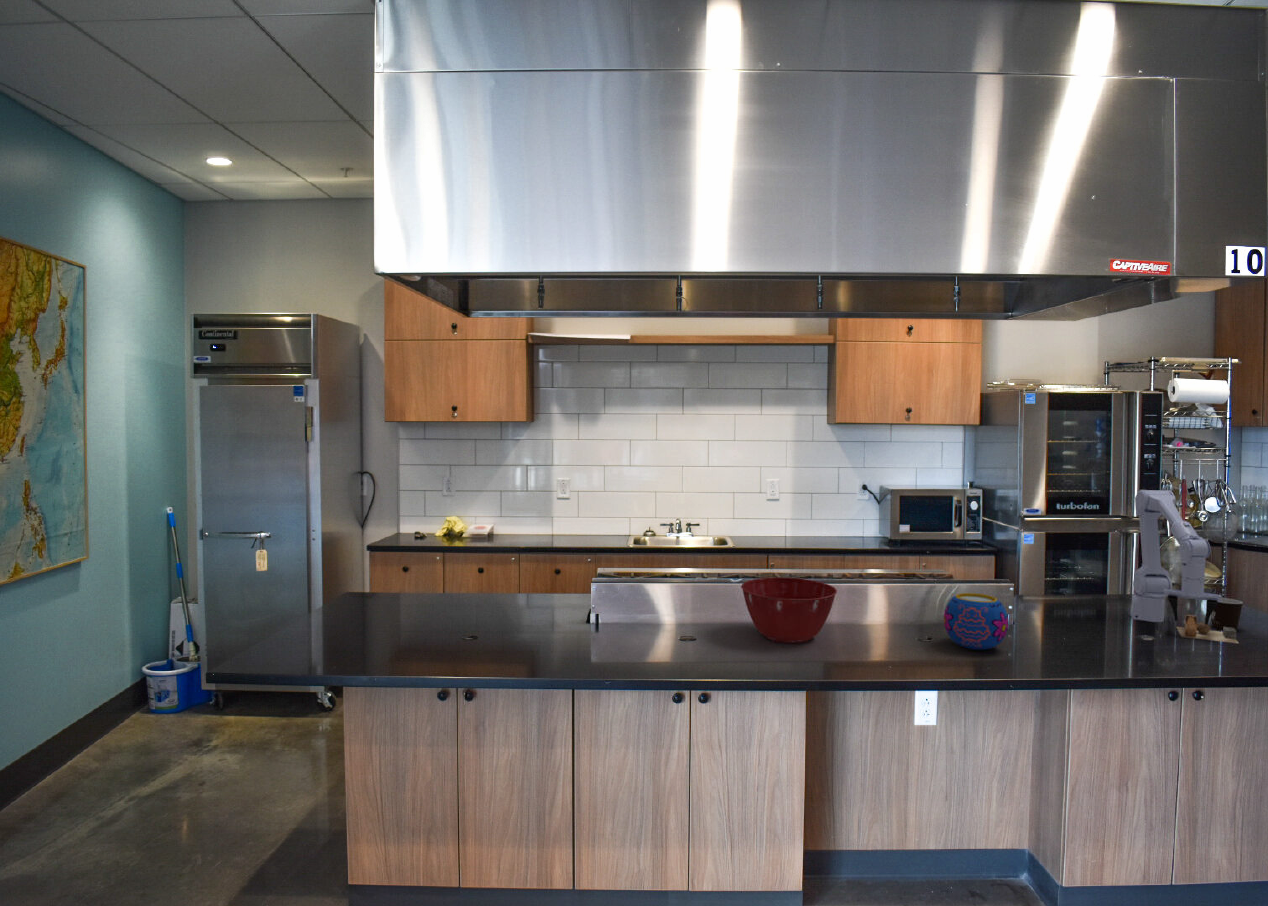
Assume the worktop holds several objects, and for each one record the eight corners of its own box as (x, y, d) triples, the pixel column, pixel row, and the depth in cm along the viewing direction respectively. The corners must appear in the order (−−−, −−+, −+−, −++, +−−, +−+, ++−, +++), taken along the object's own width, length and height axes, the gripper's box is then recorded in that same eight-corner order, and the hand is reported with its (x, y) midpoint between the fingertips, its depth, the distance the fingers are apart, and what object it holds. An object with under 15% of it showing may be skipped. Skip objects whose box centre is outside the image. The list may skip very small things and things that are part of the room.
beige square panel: (1180, 639, 251) (1181, 628, 251) (1176, 629, 264) (1176, 619, 263) (1238, 646, 245) (1239, 635, 244) (1231, 635, 257) (1231, 625, 256)
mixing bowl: (837, 654, 232) (839, 600, 231) (736, 647, 238) (737, 594, 237) (833, 628, 260) (835, 580, 259) (743, 622, 265) (744, 575, 264)
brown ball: (1196, 634, 254) (1197, 622, 254) (1195, 631, 258) (1195, 620, 257) (1210, 635, 253) (1211, 624, 253) (1209, 633, 256) (1209, 621, 256)
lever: (1183, 625, 263) (1184, 607, 263) (1196, 627, 261) (1197, 608, 261) (1183, 635, 251) (1184, 616, 251) (1197, 637, 249) (1198, 617, 249)
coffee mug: (1240, 636, 256) (1242, 605, 255) (1207, 632, 261) (1208, 601, 260) (1241, 629, 265) (1242, 598, 265) (1208, 624, 270) (1210, 594, 270)
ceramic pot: (1010, 645, 243) (1012, 595, 242) (1003, 660, 228) (1005, 607, 227) (948, 636, 252) (950, 588, 251) (937, 650, 237) (939, 599, 236)
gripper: (1164, 577, 251) (1162, 621, 252) (1222, 583, 243) (1220, 628, 244) (1165, 573, 257) (1163, 616, 258) (1221, 579, 249) (1219, 623, 250)
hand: (1191, 622), depth 251 cm, fingers open, 7 cm apart
